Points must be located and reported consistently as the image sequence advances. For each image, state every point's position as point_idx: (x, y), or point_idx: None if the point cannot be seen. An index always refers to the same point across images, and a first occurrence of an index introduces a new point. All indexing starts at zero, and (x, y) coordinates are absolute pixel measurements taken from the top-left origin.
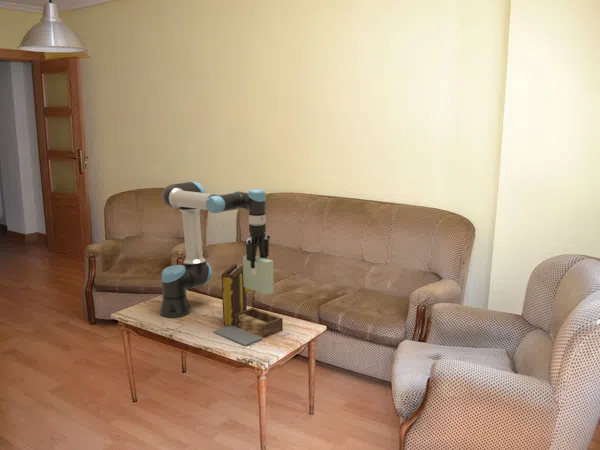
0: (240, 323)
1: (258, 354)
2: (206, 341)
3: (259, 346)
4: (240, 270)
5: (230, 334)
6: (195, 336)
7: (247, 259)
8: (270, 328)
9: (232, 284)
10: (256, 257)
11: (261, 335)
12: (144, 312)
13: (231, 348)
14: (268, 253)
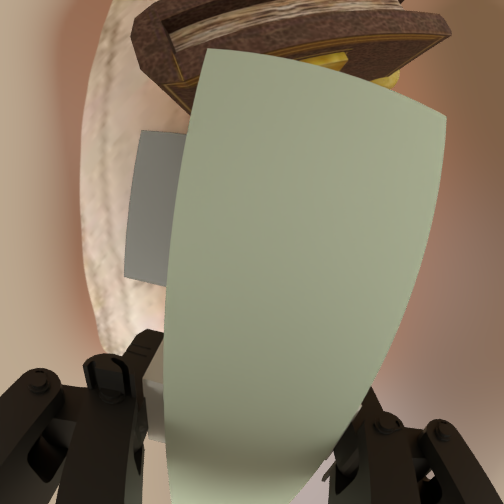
0: None
1: (119, 325)
2: (93, 162)
3: (149, 305)
4: (347, 39)
5: (148, 191)
6: (102, 112)
7: (29, 386)
8: None
9: (177, 103)
10: (283, 425)
11: None
12: None
13: (99, 250)
14: (422, 492)
